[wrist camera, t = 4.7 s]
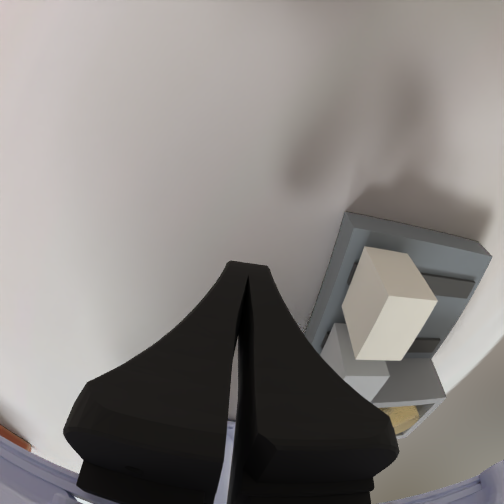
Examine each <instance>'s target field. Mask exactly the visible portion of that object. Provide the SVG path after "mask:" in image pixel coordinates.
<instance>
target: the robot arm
mask: <svg viewBox="0 0 504 504" xmlns="http://www.w3.org/2000/svg"><path fill="white" fill-rule="evenodd" d="M237 338H238V404H237V414H236V422H232V421H228V408H229V395H230V383H231V371H232V360H233V356H234V351H235V347H236V342H237ZM63 434H64V436H65V438H66V440H67V442H68V443H69V444H70V445H71V447H72V448H73V449H74V450H75V451H76V452H77V453H78V454H79V456H80V457H81V458H82V459H83V460H84V461H83V464H82V467H81V470H80V473H79V474H78V473H75V472H73V471H70V470H68V469H66V468H63V467H61V466H59V465H56V464H54V463H52V462H50V461H48V460H45V459H43V458H41V457H39V456H37V455H35V454H33V453H31V452H29V451H27V450H25V449H23V448H22V447H20V446H18V445H16V444H14V443H12V442H11V441H9V440H7V439H5V438H4V437H2V436H0V504H82V503H80V502H78V501H77V500H76V498H75V497H77V498H80V499H82V500H85V501H87V502H90V503H93V504H371V500H370V492H369V491H372V490H373V489H374V481H373V477H374V476H375V475H376V474H378V473H379V472H381V471H382V470H384V469H385V468H386V467H388V466H389V465H390V464H391V463H392V462H393V461H394V460H395V459H396V458H397V456H398V454H399V448H398V443H397V438H396V434H395V430H394V428H393V425H392V422H391V419H390V416H389V415H387V414H386V413H384V412H383V411H382V410H380V409H379V408H377V407H376V406H375V405H373V404H372V403H371V402H369V401H368V400H367V399H365V398H364V397H363V396H361V395H360V394H359V393H358V392H357V391H356V390H354V389H353V388H352V387H351V386H350V385H349V384H347V383H346V382H345V381H344V380H343V379H342V378H341V377H340V376H339V375H338V374H337V373H336V372H335V371H334V370H333V369H332V368H331V367H330V366H329V365H328V364H327V363H326V362H325V360H324V359H323V358H322V357H321V356H320V355H319V354H318V352H317V351H316V350H315V349H314V347H313V346H312V345H311V343H310V342H309V341H308V340H307V338H306V337H305V335H304V334H303V333H302V331H301V330H300V328H299V327H298V325H297V323H296V322H295V320H294V319H293V317H292V315H291V314H290V312H289V310H288V308H287V306H286V305H285V303H284V301H283V299H282V297H281V295H280V293H279V291H278V289H277V287H276V284H275V282H274V280H273V277H272V275H271V272H270V269H269V268H268V266H265V265H258V264H250V263H243V262H237V261H229V262H228V263H227V264H226V266H225V268H224V270H223V272H222V274H221V275H220V277H219V278H218V280H217V281H216V283H215V284H214V285H213V287H212V288H211V289H210V291H209V292H208V293H207V294H206V296H205V297H204V298H203V299H202V300H201V301H200V303H199V304H198V305H197V306H196V307H195V308H194V309H193V310H192V311H191V312H190V313H189V314H188V315H187V316H186V317H185V318H184V319H183V320H182V321H181V322H180V323H179V324H178V325H177V326H176V327H175V328H174V329H172V330H171V331H170V332H169V333H167V334H166V335H165V336H164V337H162V338H161V339H160V340H159V341H157V342H156V343H155V344H153V345H152V346H151V347H149V348H148V349H146V350H145V351H143V352H142V353H140V354H138V355H137V356H135V357H134V358H132V359H131V360H129V361H127V362H126V363H124V364H122V365H121V366H119V367H117V368H115V369H113V370H111V371H109V372H107V373H105V374H103V375H101V376H99V377H97V378H95V379H93V380H91V381H89V382H87V383H86V385H85V386H84V388H83V390H82V391H81V393H80V394H79V396H78V398H77V399H76V401H75V403H74V405H73V407H72V410H71V412H70V414H69V417H68V419H67V422H66V424H65V426H64V429H63ZM74 496H75V497H74ZM378 504H504V460H502V461H500V462H498V463H496V464H494V465H493V466H491V467H489V468H487V469H486V470H485V471H483V472H482V473H481V474H480V475H478V476H475V477H473V478H470V479H467V480H465V481H462V482H459V483H456V484H453V485H450V486H447V487H444V488H441V489H437V490H434V491H430V492H427V493H423V494H419V495H416V496H411V497H407V498H403V499H398V500H394V501H389V502H384V503H378Z"/></svg>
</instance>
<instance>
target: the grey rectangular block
mask: <svg viewBox="0 0 504 504" xmlns="http://www.w3.org/2000/svg"><path fill="white" fill-rule="evenodd" d="M320 356H321V357H322V358H323V359H324V360H325V362H326V363H327V364H328V365H329V366H330V367H331V368H332V369H333V370H334V371H335V372H336V373H337V374H338V375H339V376H340V377H341V378H342V379H343V380H344V381H345V382H346V383H347V384H349V385H350V386H351V387H352V388H353V389H354V390H356V391H357V392H358V393H359V394H360V395H361V396H363V397H364V398H365V399H367V400H368V401H369V402H371V401H372V399H373V398H374V397H375V396H376V394H377V393H378V392H379V390H380V389H381V388H382V386H383V385H384V384H385V382H386V381H387V380H388V378H389V377H390V375H389V371H388V368H387V365H386V362H385V360H355V356H354V352H353V348H352V344H351V340H350V336H349V332H348V328H347V325H346V324H343V323H334V325H333V327H332V330H331V332H330V334H329V337H328V339H327V341H326V343H325V345H324V348H323V350H322V352H321V354H320Z"/></svg>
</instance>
